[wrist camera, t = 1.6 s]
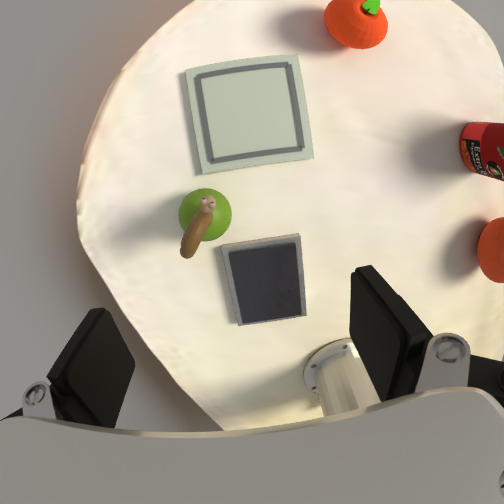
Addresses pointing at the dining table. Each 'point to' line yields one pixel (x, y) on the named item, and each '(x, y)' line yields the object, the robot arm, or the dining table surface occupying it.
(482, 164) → the canned food
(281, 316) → the ink pad
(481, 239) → the tomato
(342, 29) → the clementine
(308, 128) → the board
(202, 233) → the snail figurine
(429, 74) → the dining table surface
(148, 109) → the dining table surface
